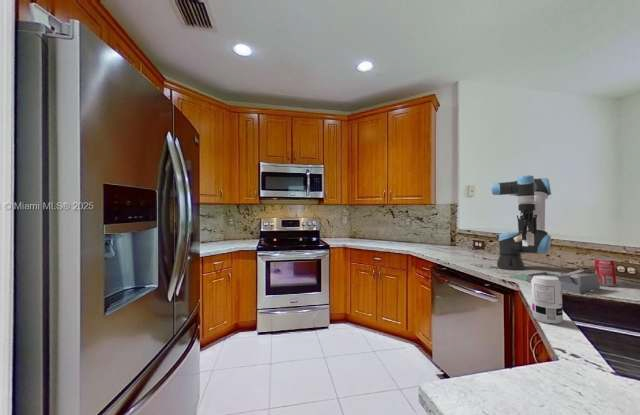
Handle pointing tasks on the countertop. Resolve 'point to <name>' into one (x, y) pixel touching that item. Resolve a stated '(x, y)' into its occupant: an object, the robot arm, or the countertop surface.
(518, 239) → the maple bar
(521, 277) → the green mat
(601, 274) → the red toy chair
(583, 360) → the countertop surface
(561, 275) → the lever
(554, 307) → the supplement can
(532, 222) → the robot arm
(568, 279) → the charcoal tray
